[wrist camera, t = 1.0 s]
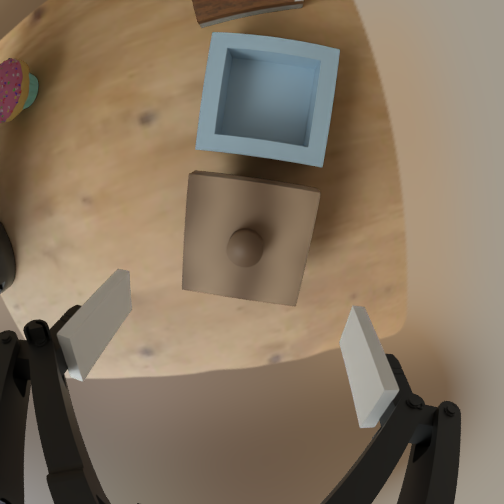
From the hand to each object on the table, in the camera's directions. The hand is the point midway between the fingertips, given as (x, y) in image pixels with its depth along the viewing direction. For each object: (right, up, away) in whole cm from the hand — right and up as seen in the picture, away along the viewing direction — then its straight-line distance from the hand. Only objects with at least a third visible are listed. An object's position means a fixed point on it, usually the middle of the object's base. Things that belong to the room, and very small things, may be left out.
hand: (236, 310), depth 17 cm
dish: (+2, +18, +10) cm, 21 cm away
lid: (0, +5, +12) cm, 13 cm away
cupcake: (-29, +25, +10) cm, 39 cm away
